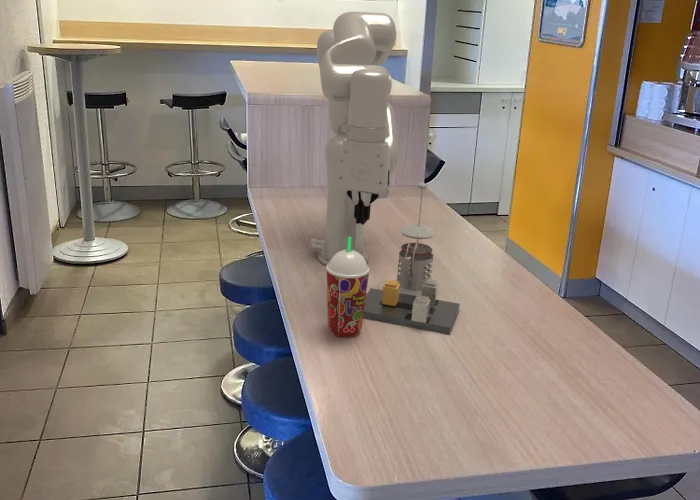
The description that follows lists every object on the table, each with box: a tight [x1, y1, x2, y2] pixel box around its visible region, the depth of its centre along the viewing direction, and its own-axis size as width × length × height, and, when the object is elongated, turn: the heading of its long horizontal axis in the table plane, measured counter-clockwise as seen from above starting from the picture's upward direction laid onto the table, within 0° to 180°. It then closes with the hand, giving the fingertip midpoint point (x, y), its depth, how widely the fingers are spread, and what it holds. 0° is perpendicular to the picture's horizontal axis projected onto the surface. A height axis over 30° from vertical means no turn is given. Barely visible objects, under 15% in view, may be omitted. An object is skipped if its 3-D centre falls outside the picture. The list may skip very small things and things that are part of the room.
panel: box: [363, 278, 461, 335], centre depth 143 cm, size 20×12×6 cm, turn 73°
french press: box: [395, 182, 437, 296], centre depth 152 cm, size 10×12×25 cm
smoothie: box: [325, 237, 370, 338], centre depth 132 cm, size 8×8×20 cm
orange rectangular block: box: [382, 279, 400, 306], centre depth 144 cm, size 3×3×5 cm
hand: (361, 222), depth 140 cm, fingers closed
